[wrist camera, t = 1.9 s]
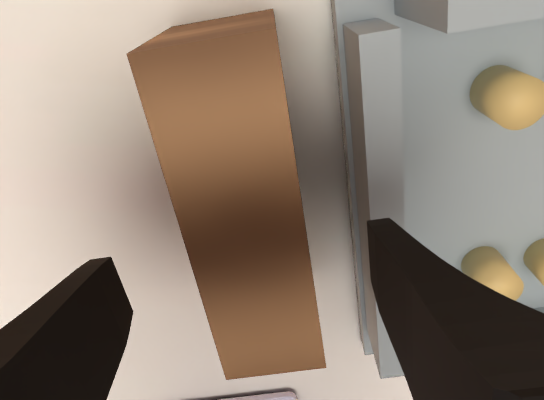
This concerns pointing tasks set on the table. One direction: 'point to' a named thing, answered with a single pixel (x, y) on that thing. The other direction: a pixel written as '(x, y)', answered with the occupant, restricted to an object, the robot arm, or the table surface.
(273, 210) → the board
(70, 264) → the table surface
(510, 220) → the peg stand
